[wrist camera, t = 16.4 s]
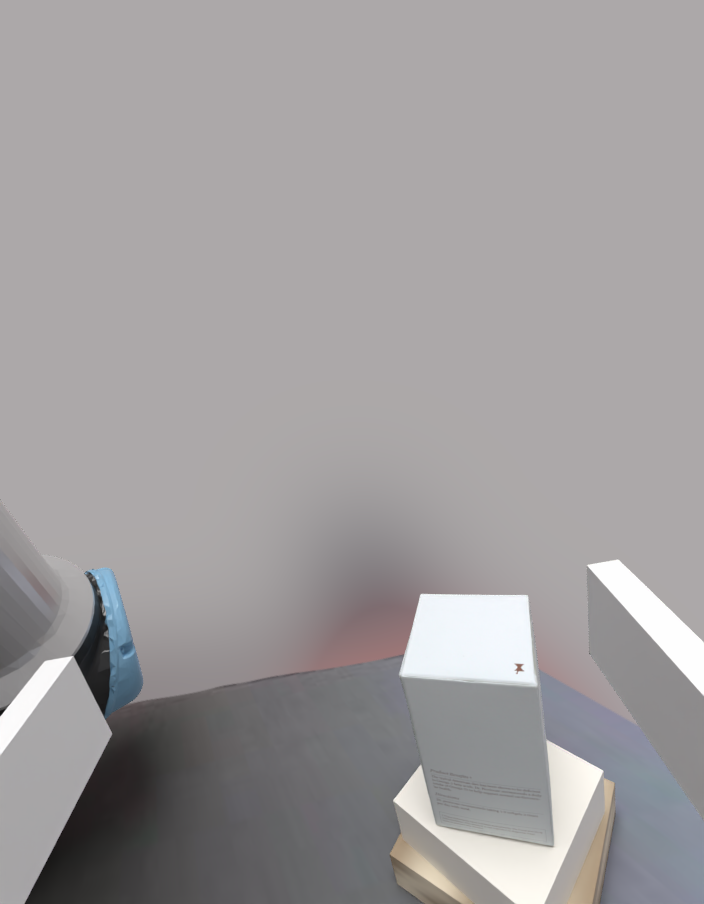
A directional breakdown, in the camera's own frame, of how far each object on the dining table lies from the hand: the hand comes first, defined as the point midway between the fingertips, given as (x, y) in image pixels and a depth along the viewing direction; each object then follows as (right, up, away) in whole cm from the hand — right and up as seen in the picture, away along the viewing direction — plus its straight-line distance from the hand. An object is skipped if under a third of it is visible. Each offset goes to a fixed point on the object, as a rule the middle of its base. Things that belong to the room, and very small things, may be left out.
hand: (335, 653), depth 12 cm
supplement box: (+10, -17, +20) cm, 28 cm away
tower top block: (+11, -21, +20) cm, 31 cm away
